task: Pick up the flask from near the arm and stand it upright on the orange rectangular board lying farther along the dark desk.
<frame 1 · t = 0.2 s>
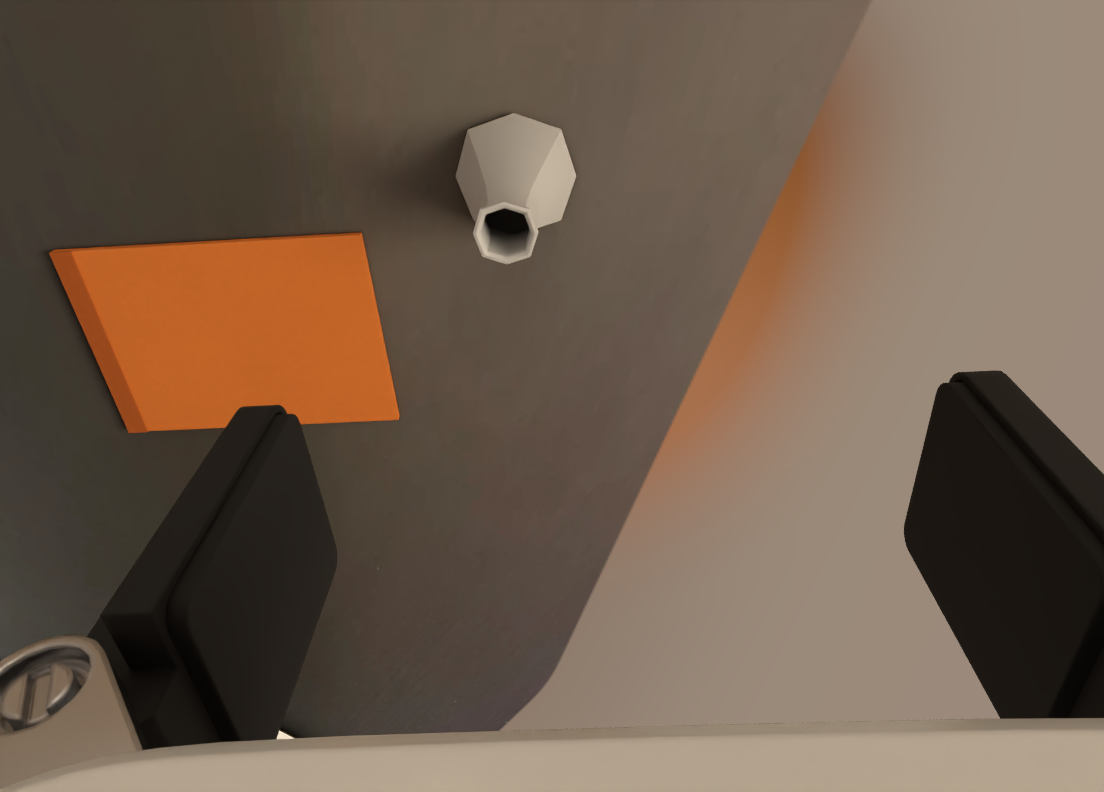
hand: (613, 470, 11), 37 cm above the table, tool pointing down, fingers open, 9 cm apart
orange rectangular board: (238, 338, 52), on the table
flask: (516, 173, 46), on the table
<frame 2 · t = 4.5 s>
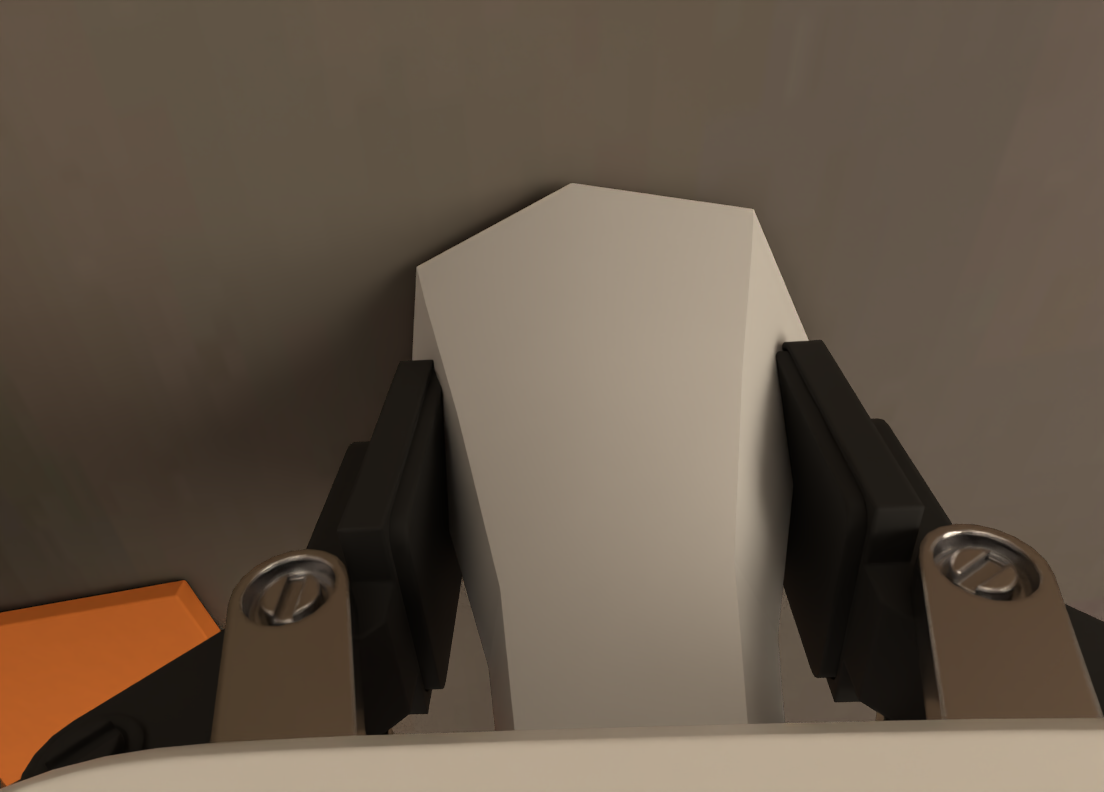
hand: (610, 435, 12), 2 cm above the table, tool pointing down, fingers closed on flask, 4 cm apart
flask: (604, 368, 14), on the table, touching gripper
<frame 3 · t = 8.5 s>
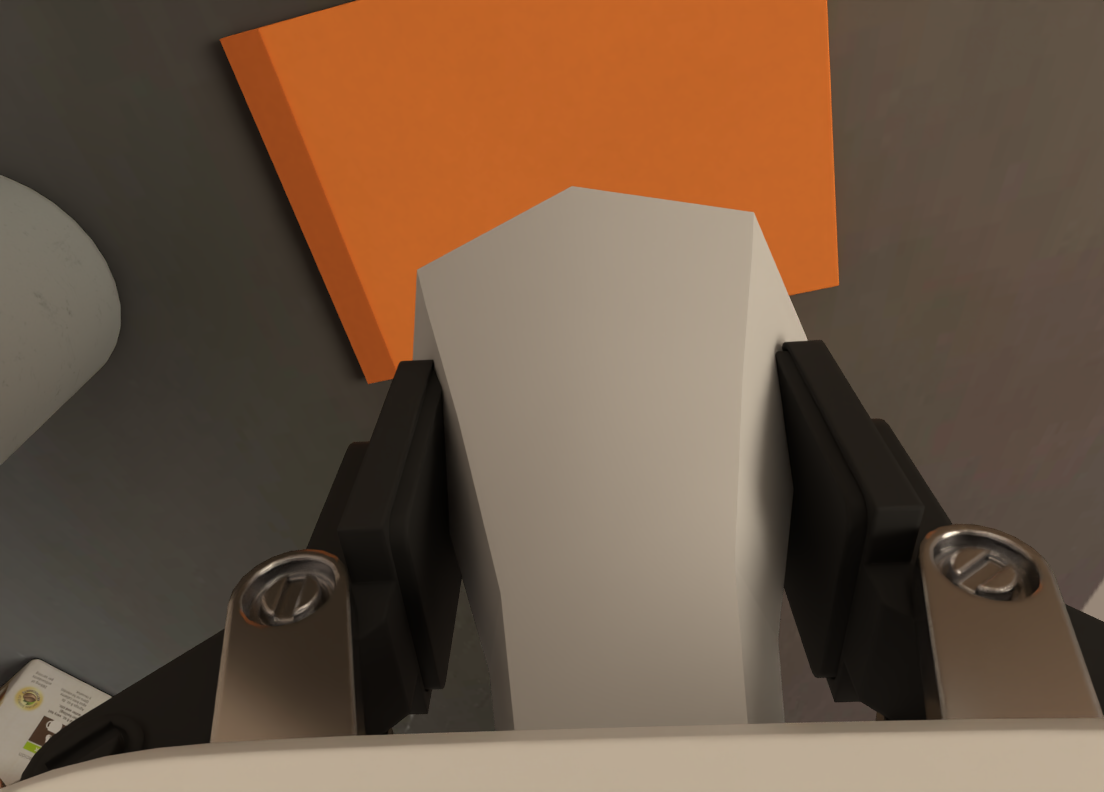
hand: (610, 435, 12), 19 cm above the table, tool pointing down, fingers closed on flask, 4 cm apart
coffee box: (48, 708, 46), on the table
water bottle: (5, 273, 31), on the table
orange rectangular board: (555, 168, 28), on the table
flask: (604, 371, 14), point 17 cm above the table, touching gripper
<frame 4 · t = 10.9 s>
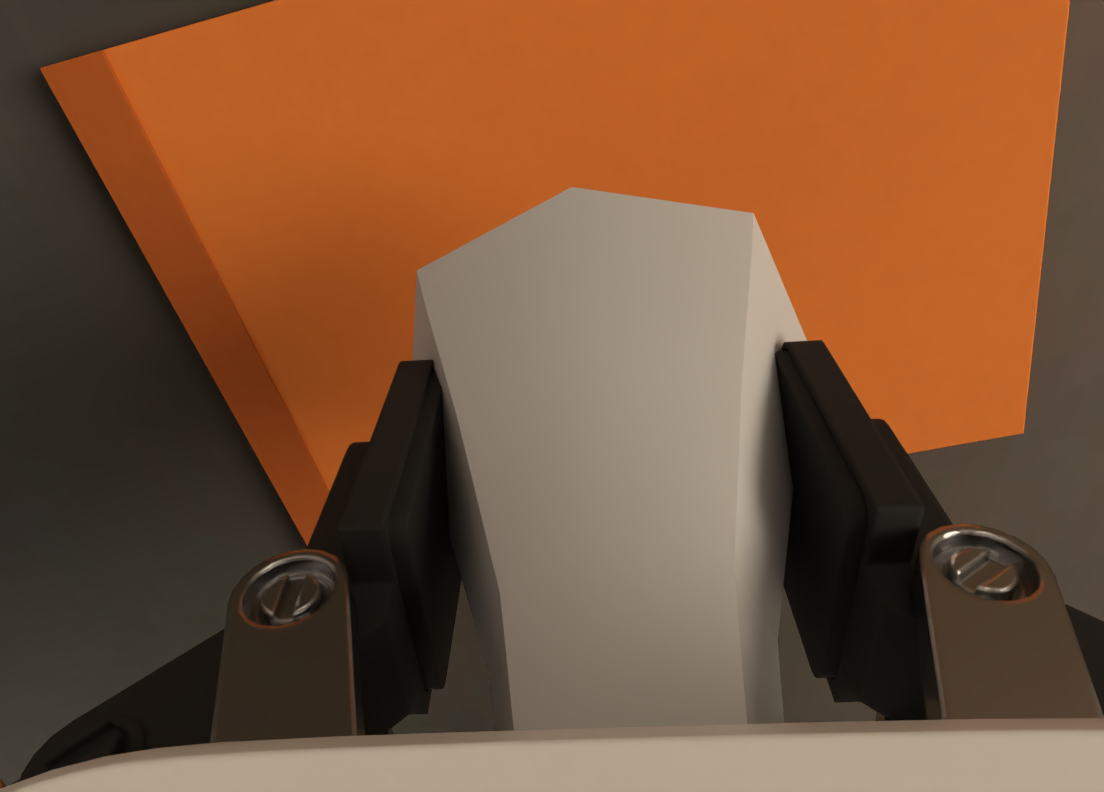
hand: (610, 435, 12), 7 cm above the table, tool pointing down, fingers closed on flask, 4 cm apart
orange rectangular board: (595, 265, 18), on the table
flask: (604, 372, 14), point 5 cm above the table, touching gripper
when the fingers open (2 cm above the table, at t = 12.5 s): flask stays where it is, resting on orange rectangular board.
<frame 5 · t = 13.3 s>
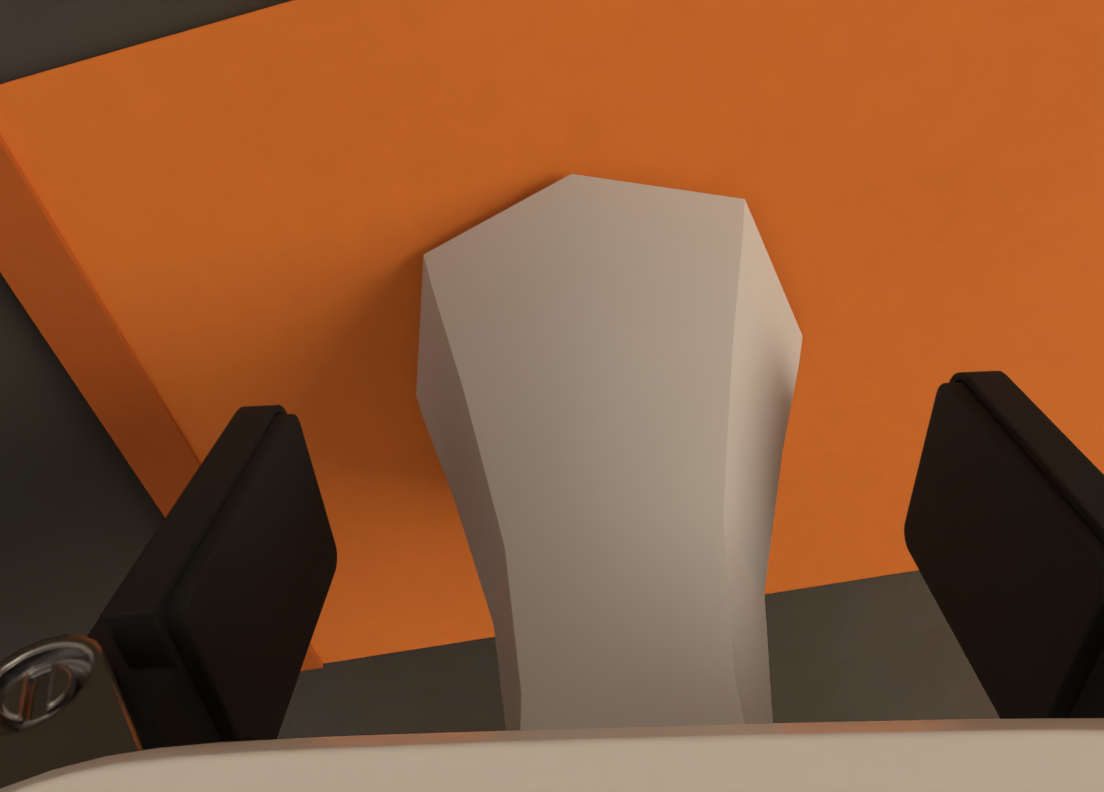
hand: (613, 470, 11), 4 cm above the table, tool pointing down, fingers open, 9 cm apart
orange rectangular board: (600, 347, 15), on the table
flask: (602, 353, 14), resting on orange rectangular board
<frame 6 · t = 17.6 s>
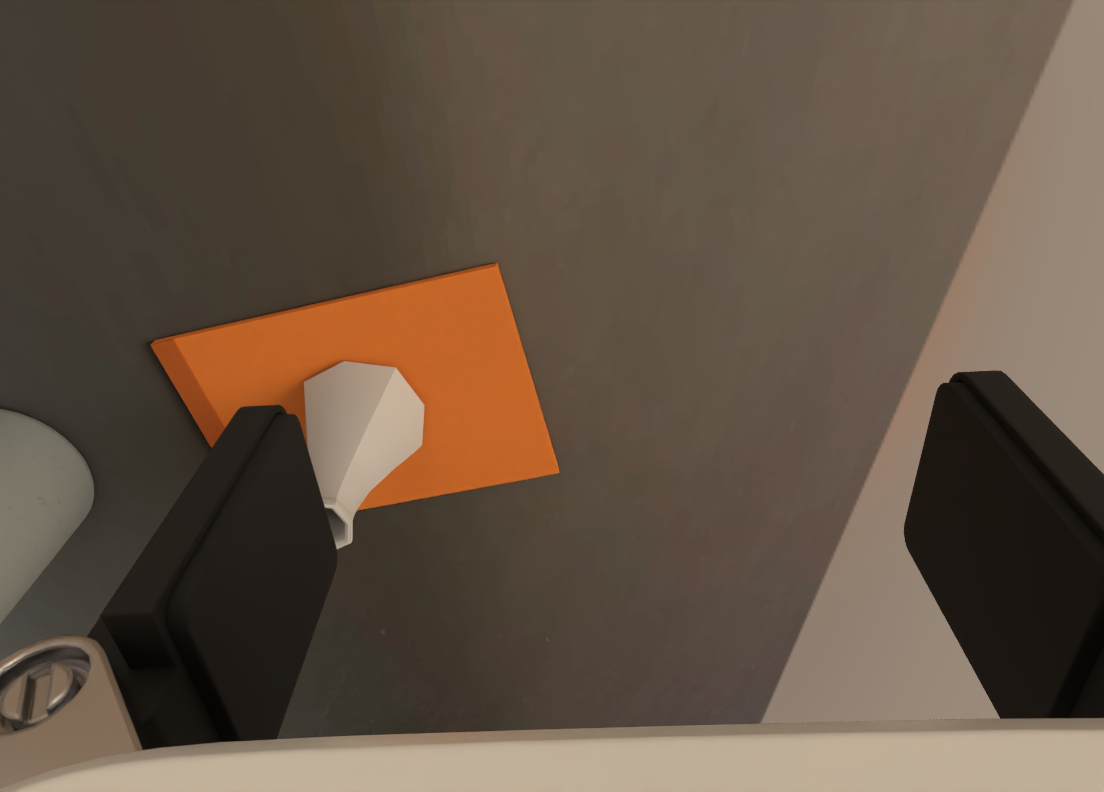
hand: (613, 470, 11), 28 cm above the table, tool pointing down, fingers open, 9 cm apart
water bottle: (18, 462, 47), on the table
orange rectangular board: (367, 407, 45), on the table
flask: (366, 409, 44), resting on orange rectangular board
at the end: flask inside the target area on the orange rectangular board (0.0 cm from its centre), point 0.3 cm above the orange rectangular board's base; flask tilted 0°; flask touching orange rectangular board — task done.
